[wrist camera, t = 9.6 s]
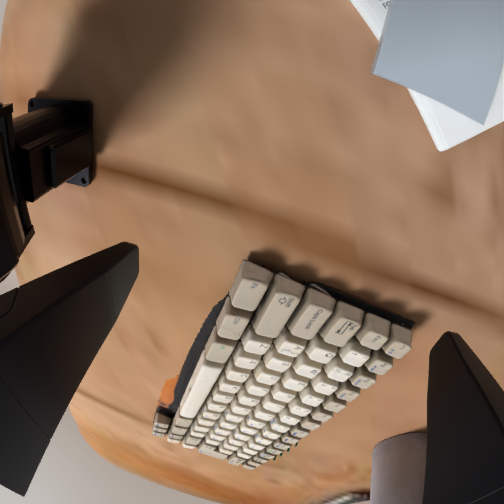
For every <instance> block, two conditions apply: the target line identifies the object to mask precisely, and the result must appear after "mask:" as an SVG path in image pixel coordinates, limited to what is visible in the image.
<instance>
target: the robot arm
mask: <svg viewBox="0 0 504 504" xmlns="http://www.w3.org/2000/svg"><path fill="white" fill-rule="evenodd" d="M85 105H86V110H85V108H84V106H85ZM92 110H93V106H92V103H91V101H89V100H83V99H69V98H49V97H34V98H31V99H30V100H29V102H28V113H26V114H24V115H21V116H19V117H16V118H14V119H12V112H13V103H10V104H5V105H3V103H1V102H0V282H2V281H3V280H4V279H5V278H6V277H7V276H8V275H9V274H10V272H11V271H12V270H13V269H14V268H15V267H16V266H17V264H18V262H19V258H20V256H21V254H22V253H23V251H24V249H25V248H26V246H27V245H28V243H29V242H30V240H31V238H32V237H33V235H34V234H35V231H34V227H33V225H32V224H31V220H30V216H29V212H28V208H27V203H28V202H34V201H36V200H37V199H39V198H40V197H41V196H43V195H44V194H46V193H47V192H49V191H50V190H52V189H53V188H57V187H59V186H60V185H62V184H63V183H65V182H67V183H71V184H75V185H79V186H83V187H86V186H88V185H90V184H91V182H92ZM84 178H85V179H86V181H85V179H84ZM138 273H139V248H138V246H137V245H135V244H132V243H129V242H121V243H119V244H116V245H114V246H111V247H109V248H107V249H104V250H102V251H99V252H97V253H94V254H92V255H90V256H87V257H85V258H83V259H80V260H78V261H76V262H73V263H71V264H69V265H66V266H64V267H62V268H59V269H57V270H55V271H53V272H50V273H48V274H46V275H44V276H41V277H39V278H37V279H35V280H32V281H30V282H28V283H26V284H24V285H21V286H20V287H19V288H15V289H13V290H11V291H9V292H6V293H4V294H2V295H0V484H1V485H2V486H4V487H6V488H8V489H10V490H12V491H14V492H15V493H17V494H19V495H22V496H25V494H26V492H27V490H28V488H29V485H30V483H31V481H32V479H33V476H34V474H35V472H36V470H37V468H38V465H39V463H40V461H41V459H42V457H43V455H44V453H45V450H46V449H47V447H48V445H49V442H50V439H51V438H52V436H53V434H54V432H55V430H56V428H57V426H58V424H59V422H60V420H61V418H62V416H63V414H64V412H65V411H66V409H67V407H68V405H69V403H70V401H71V399H72V397H73V395H74V394H75V392H76V390H77V388H78V386H79V384H80V383H81V381H82V379H83V377H84V375H85V374H86V372H87V370H88V368H89V367H90V365H91V363H92V361H93V360H94V358H95V356H96V354H97V353H98V351H99V349H100V347H101V346H102V344H103V342H104V341H105V339H106V337H107V336H108V334H109V332H110V331H111V329H112V327H113V326H114V324H115V322H116V320H117V318H118V316H119V314H120V312H121V310H122V308H123V306H124V303H125V301H126V299H127V297H128V295H129V293H130V291H131V289H132V287H133V285H134V283H135V280H136V278H137V276H138ZM422 504H504V391H503V390H502V388H501V387H500V386H499V384H498V383H497V382H496V380H495V379H494V378H493V376H492V375H491V374H490V372H489V371H488V370H487V368H486V367H485V366H484V365H483V363H482V362H481V361H480V360H479V358H478V357H477V356H476V355H475V353H474V352H473V351H472V350H471V348H470V347H469V346H468V345H467V343H466V342H465V341H464V340H463V339H462V337H461V336H460V335H459V334H458V333H455V332H450V331H447V332H445V333H444V334H443V335H442V336H441V338H440V339H439V340H438V341H437V343H436V344H435V345H434V346H433V348H432V349H431V351H430V355H429V376H428V392H427V445H426V465H425V478H424V489H423V499H422Z"/></svg>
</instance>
